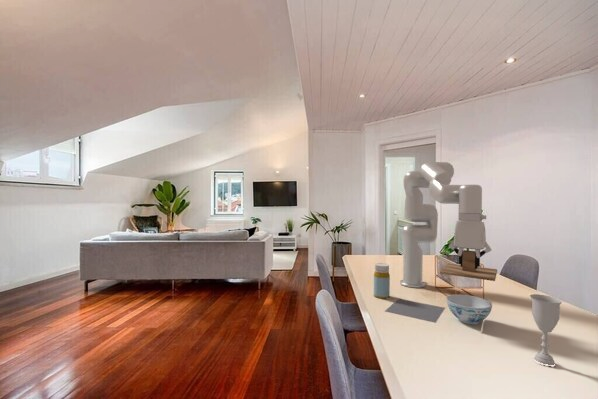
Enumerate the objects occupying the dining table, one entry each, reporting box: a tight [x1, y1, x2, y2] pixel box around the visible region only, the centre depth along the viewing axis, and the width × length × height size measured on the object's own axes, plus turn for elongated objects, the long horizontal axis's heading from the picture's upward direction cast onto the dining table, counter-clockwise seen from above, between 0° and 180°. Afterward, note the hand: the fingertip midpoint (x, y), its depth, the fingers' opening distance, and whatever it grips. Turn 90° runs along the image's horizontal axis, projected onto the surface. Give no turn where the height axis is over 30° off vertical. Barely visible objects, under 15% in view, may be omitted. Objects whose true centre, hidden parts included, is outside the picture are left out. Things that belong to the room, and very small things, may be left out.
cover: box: [439, 249, 498, 282], centre depth 115 cm, size 17×17×8 cm
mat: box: [384, 298, 446, 323], centre depth 126 cm, size 19×19×1 cm
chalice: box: [529, 294, 563, 365], centre depth 87 cm, size 7×7×18 cm
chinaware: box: [445, 294, 493, 325], centre depth 115 cm, size 15×15×8 cm
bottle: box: [373, 262, 391, 300], centre depth 142 cm, size 7×7×15 cm
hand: (469, 266), depth 115 cm, fingers closed on cover, 4 cm apart
